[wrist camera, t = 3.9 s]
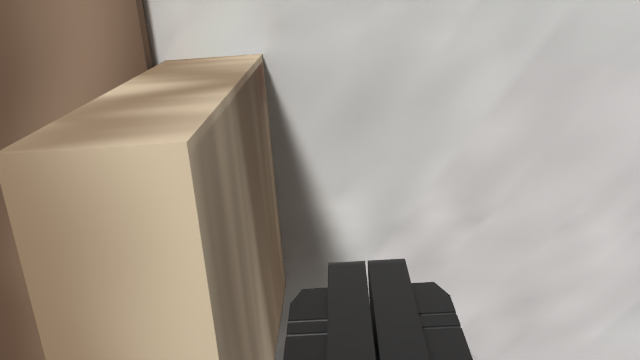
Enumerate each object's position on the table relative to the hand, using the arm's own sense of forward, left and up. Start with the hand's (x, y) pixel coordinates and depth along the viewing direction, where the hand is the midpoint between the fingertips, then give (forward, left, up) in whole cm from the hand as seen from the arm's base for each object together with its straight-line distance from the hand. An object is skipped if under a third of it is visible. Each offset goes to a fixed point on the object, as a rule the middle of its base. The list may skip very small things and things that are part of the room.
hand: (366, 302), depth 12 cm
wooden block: (+4, 0, -8) cm, 9 cm away
